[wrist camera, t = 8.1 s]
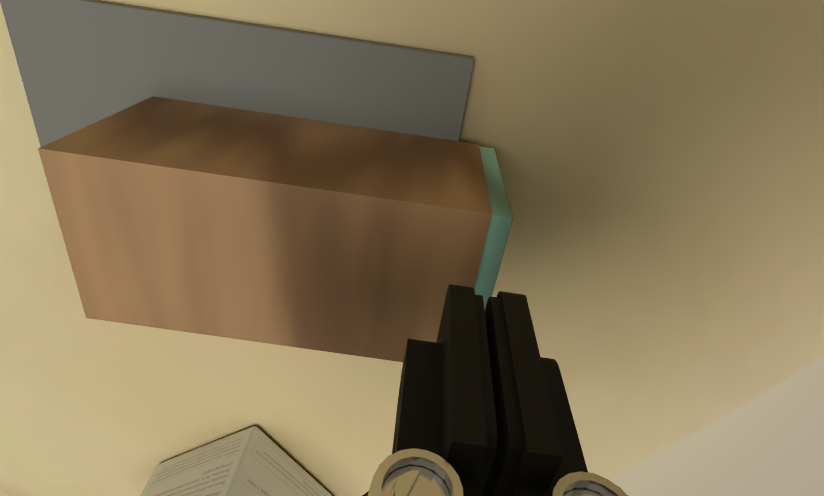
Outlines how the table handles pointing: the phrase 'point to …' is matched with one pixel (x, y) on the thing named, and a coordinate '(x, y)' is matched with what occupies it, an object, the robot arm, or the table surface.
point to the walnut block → (275, 225)
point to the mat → (223, 69)
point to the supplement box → (233, 470)
